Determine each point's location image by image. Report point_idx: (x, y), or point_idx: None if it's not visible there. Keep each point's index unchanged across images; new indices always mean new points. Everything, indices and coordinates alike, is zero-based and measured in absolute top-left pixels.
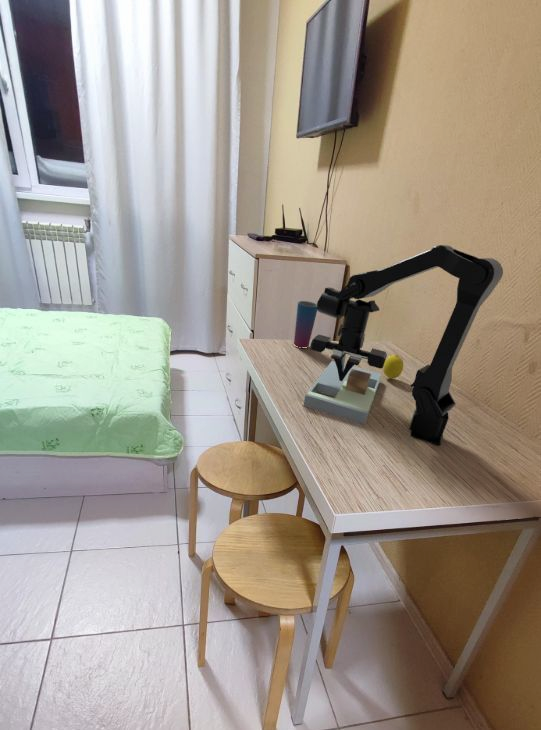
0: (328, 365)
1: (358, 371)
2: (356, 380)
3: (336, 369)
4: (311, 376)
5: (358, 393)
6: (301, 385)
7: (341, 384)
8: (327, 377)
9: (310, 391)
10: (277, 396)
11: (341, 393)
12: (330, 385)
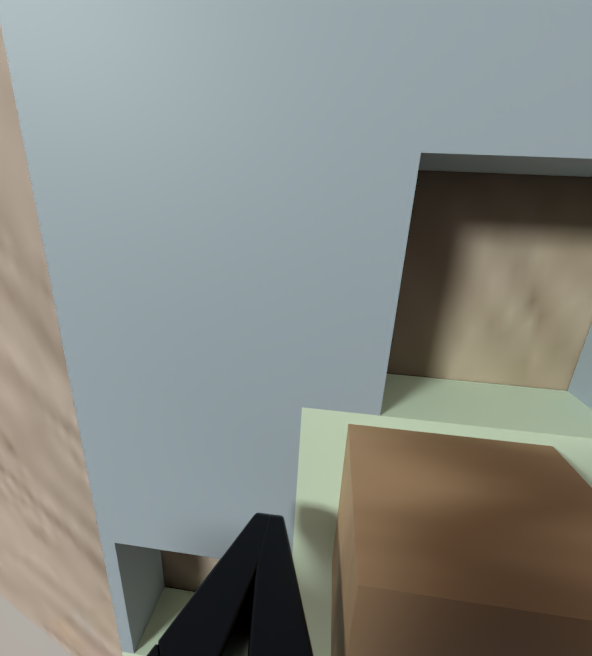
0: (10, 71)
1: (475, 634)
2: None
3: (142, 148)
4: (27, 281)
5: None
6: (51, 455)
7: (287, 498)
8: (138, 424)
9: (129, 652)
10: (29, 600)
11: (314, 620)
12: (210, 544)
